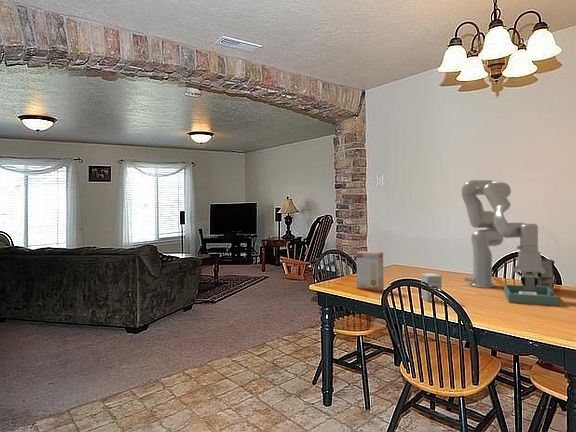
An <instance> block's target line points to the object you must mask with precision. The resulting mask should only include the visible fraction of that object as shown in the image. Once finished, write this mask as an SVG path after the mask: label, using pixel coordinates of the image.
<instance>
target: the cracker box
mask: <svg viewBox="0 0 576 432" xmlns="http://www.w3.org/2000/svg"><path fill="white" fill-rule="evenodd" d="M384 286H385V284H384V252H381V251H380V252H379V251H369V250H364V251H363V250H360V251H356V289H359V290H365V291H372V292H381V291H384V289H385V287H384Z"/></svg>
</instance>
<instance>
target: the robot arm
mask: <svg viewBox="0 0 576 432" xmlns="http://www.w3.org/2000/svg"><path fill="white" fill-rule="evenodd" d="M511 192H512V189H511V187H510V185H509V184H508V183H506V182H503V181H496V180H491V179H471V180H469V181H467V182H465V183H464V184H463V185H462V189H461V196H462V197H461V198H462V200H463V203H464V204H465V208H466V211H467V215H468V220H469V223H470V225H471V227H472V228H476V229H479V230H475V231H474V232H473V233H472V234H471V236H470V237H471V238H470V239H471V240H470V241H471V245H472V253H473V255H472V257H473V259H472V262H473V263H472V265H473V266H472V268H473V269H472V273H473V274H472V277H464V281H465V282H470V286H472V287H475V288H483V289H484V288H487V289H490V288H495V286H496V285H495V283H494V282H493V254H492V253H493V252H492V251H491V249H490V247H497V246H500V245H501V244H502V243H503V242H504V238H505V239H509V238H510V239H511V238H512V239H513V238H520V240H519V245H517V247H516V249H517V250H519V251H518V254H517V263H516V266H515V267H514V268H513V270H512V271H513V272H514V273H516V274H517V275H518V276H520V278H521V280H520V281H521V282H520V283H521V284H522V286H525V277H524V275H525V272H533V273H534V274H535V286H536V284H537V278H538V277H539V276H541V275H542V274H544V273H546V271H545V270H544V269H543V267H542V263H541V259H542V255H541V252H540V251H539V226H538V225H537V224H536V223H525V222H508V221H507V219H506V217H505V215H504V213H505V212H506V211H508V210H509V209H510V207H511V206H512V205H511V202H510V201H509V198H508V197H509V196H510V195H511ZM483 195H484V196H485V197H486V200H487V201H488V202H489V205H490V206H491V208H492V210H493V211H490V210H485V209H484V205H483V203H482V202H481V199H479V197H478V196H483ZM537 272H539V273H537Z"/></svg>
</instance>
